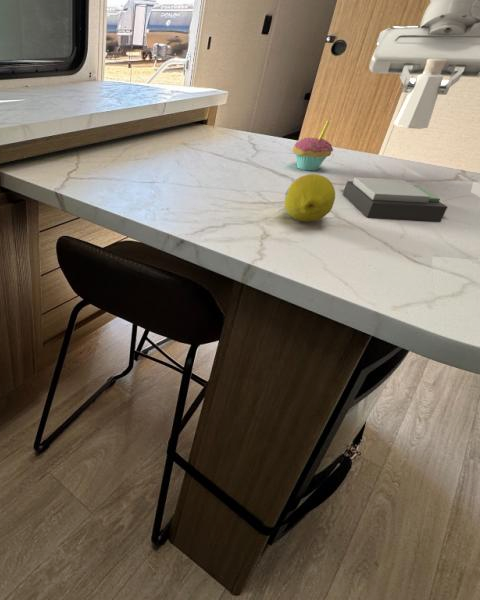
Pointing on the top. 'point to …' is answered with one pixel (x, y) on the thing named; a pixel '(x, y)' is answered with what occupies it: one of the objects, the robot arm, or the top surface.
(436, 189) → the top surface
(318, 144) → the cupcake
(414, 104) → the salt shaker
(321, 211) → the lemon
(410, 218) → the scale
